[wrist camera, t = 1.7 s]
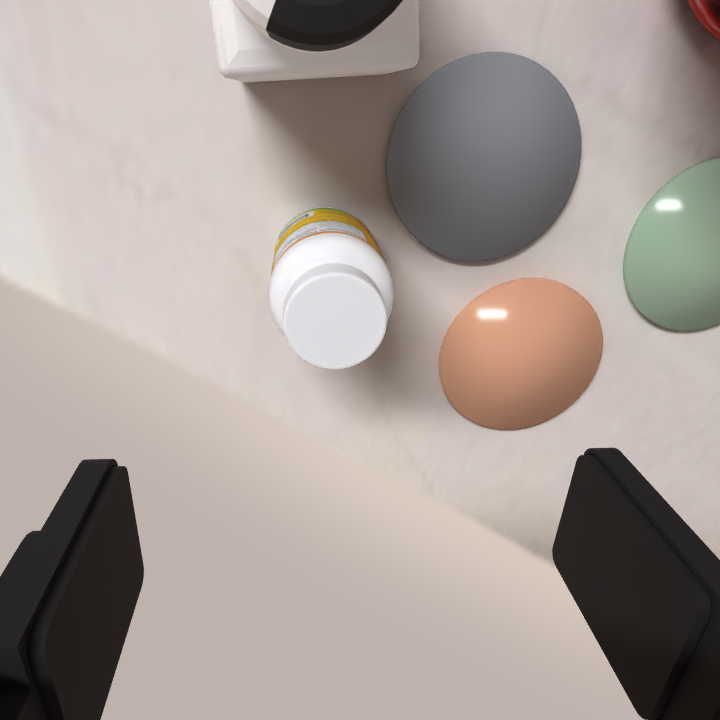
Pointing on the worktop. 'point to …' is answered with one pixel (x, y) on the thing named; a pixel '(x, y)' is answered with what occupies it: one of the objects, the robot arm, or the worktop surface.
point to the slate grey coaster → (484, 156)
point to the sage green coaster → (678, 252)
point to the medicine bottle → (314, 38)
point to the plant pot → (708, 14)
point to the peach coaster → (520, 353)
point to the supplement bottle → (330, 288)
